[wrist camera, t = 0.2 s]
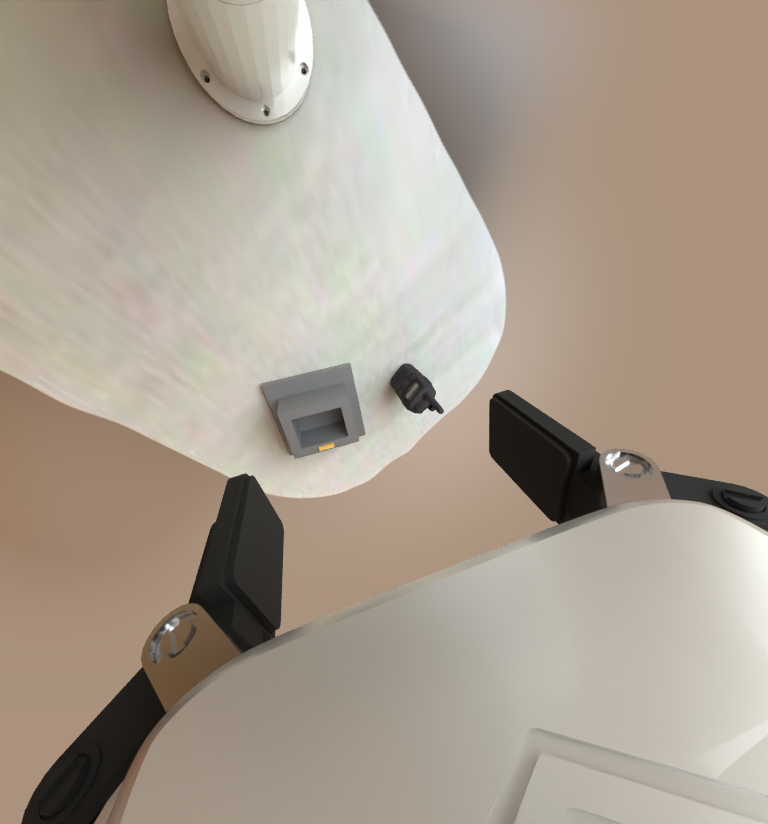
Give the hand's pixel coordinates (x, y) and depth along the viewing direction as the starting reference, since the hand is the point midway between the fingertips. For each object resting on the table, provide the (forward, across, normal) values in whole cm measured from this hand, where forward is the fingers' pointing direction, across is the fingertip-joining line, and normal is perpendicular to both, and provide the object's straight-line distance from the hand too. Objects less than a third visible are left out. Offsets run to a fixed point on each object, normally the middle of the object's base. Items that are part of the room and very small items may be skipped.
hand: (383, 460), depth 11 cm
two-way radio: (+37, -11, +15) cm, 41 cm away
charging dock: (+37, +5, +17) cm, 41 cm away
